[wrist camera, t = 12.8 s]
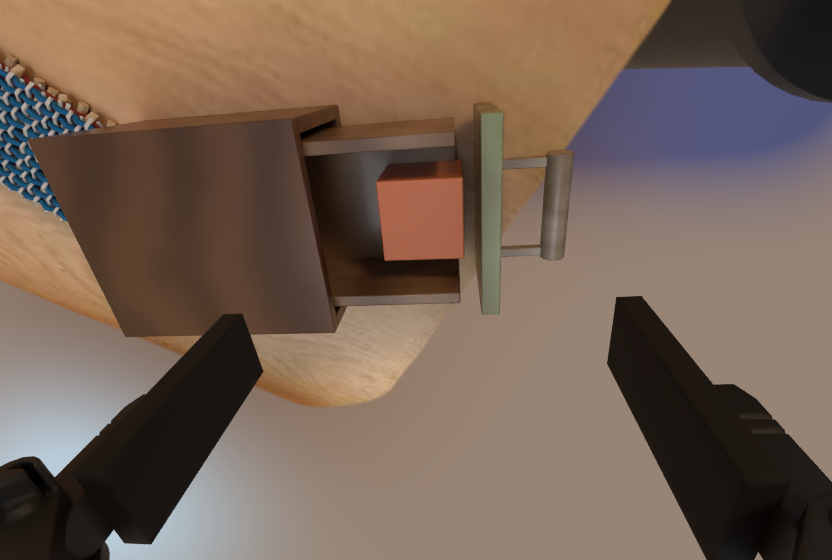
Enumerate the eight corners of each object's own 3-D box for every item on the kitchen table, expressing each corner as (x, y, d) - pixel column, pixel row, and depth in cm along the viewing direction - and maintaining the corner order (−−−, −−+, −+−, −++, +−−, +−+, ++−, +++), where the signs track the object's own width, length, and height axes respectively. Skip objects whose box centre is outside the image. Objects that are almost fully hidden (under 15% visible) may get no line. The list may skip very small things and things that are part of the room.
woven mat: (93, 225, 36) (75, 233, 34) (-29, 154, 34) (-56, 159, 32) (125, 126, 32) (105, 129, 30) (-13, 37, 30) (-43, 34, 28)
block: (461, 160, 29) (463, 177, 24) (462, 230, 31) (464, 258, 27) (387, 164, 29) (375, 181, 25) (394, 232, 32) (384, 261, 27)
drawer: (558, 96, 28) (594, 105, 21) (545, 262, 33) (570, 312, 26) (291, 118, 30) (241, 132, 23) (322, 270, 35) (291, 319, 28)
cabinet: (337, 104, 30) (290, 118, 21) (363, 270, 36) (335, 333, 27) (143, 120, 32) (25, 139, 23) (200, 276, 38) (124, 337, 29)
